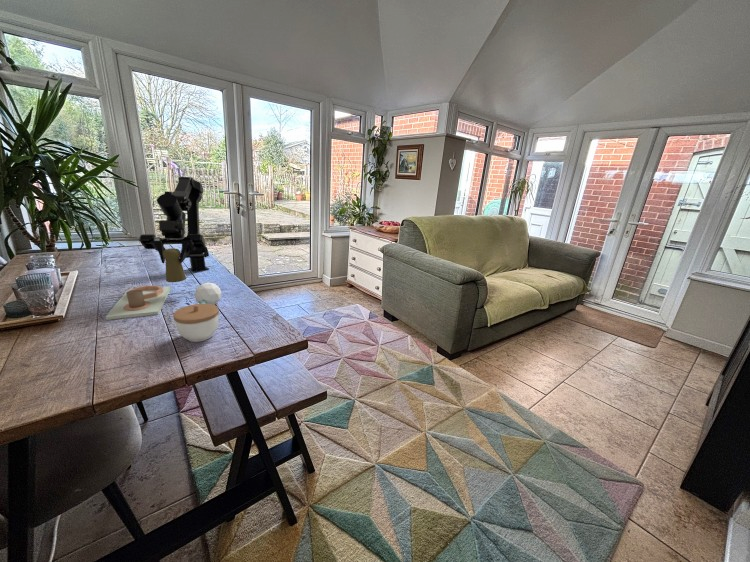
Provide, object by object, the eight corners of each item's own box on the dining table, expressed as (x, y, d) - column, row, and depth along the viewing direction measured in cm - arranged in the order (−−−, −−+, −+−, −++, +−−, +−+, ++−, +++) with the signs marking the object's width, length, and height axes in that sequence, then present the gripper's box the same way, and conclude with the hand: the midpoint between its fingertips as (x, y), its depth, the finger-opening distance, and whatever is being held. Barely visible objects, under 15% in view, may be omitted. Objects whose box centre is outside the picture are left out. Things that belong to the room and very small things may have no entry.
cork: (165, 283, 102) (160, 251, 98) (165, 277, 107) (160, 247, 103) (186, 280, 105) (181, 250, 101) (185, 275, 110) (181, 246, 106)
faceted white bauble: (228, 289, 108) (223, 307, 98) (209, 302, 108) (202, 321, 98) (211, 274, 104) (204, 290, 93) (191, 287, 104) (183, 305, 94)
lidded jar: (227, 338, 84) (223, 307, 81) (183, 351, 77) (177, 318, 74) (214, 323, 91) (210, 295, 88) (173, 334, 84) (167, 304, 81)
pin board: (128, 292, 109) (124, 276, 107) (170, 289, 114) (168, 274, 112) (106, 319, 89) (101, 301, 87) (158, 314, 95) (155, 296, 93)
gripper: (135, 210, 99) (128, 251, 93) (199, 211, 104) (197, 250, 98) (148, 229, 108) (143, 267, 102) (206, 229, 114) (204, 265, 108)
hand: (172, 262), depth 102 cm, fingers closed on cork, 5 cm apart
